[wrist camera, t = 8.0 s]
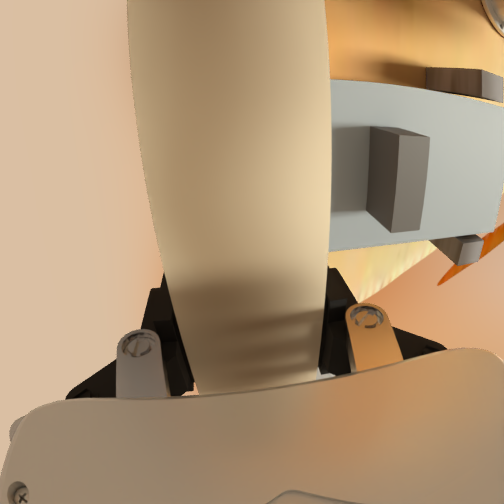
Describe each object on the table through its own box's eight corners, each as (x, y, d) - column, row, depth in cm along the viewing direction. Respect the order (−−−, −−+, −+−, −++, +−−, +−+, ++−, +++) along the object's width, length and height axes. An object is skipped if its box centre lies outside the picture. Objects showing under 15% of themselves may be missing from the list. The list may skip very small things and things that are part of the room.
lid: (497, 106, 26) (541, 118, 19) (482, 223, 34) (518, 249, 27) (300, 79, 24) (329, 76, 18) (303, 242, 32) (325, 283, 25)
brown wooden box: (462, 76, 30) (517, 83, 21) (449, 225, 41) (491, 258, 32) (282, 52, 29) (309, 37, 19) (289, 241, 40) (311, 289, 30)
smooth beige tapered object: (278, -39, 7) (310, -94, 3) (288, 423, 18) (299, 475, 15) (156, -30, 7) (129, -83, 3) (228, 431, 18) (232, 484, 15)
